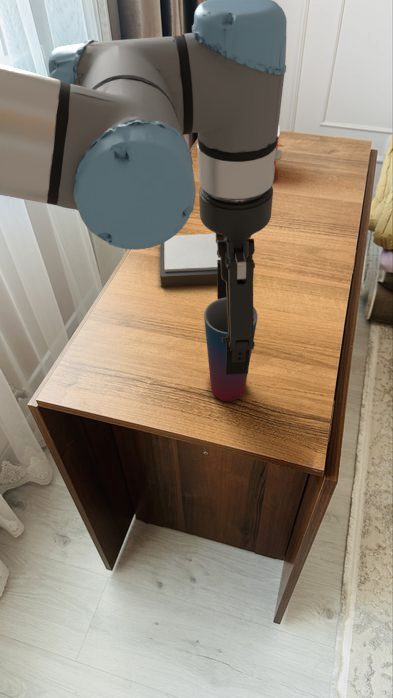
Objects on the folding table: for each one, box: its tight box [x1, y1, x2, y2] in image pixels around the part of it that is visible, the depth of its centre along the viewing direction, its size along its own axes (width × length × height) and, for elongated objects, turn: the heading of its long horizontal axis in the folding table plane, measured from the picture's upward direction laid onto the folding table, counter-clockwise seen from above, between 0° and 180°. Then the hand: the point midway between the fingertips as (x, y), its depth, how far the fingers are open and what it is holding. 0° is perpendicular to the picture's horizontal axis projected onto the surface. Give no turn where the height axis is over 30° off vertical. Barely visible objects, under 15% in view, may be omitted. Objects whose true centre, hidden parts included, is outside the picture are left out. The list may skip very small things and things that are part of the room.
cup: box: [203, 298, 258, 402], centre depth 69 cm, size 7×7×15 cm
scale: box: [159, 233, 220, 288], centre depth 94 cm, size 12×12×3 cm
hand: (231, 332), depth 66 cm, fingers open, 13 cm apart
